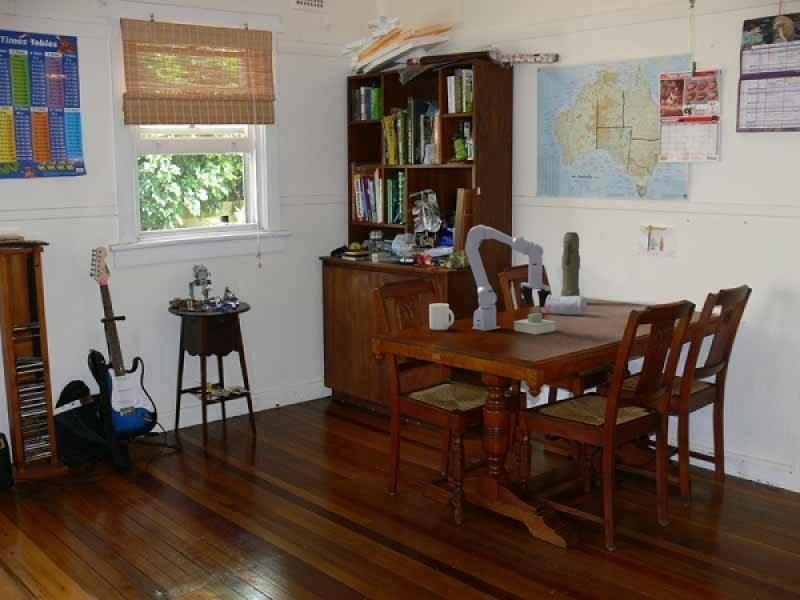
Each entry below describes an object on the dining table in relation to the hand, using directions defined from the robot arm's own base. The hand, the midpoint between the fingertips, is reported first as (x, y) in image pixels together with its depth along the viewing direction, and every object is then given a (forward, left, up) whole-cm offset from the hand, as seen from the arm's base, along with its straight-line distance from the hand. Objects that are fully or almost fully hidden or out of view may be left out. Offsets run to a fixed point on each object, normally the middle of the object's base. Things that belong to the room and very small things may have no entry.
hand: (535, 306), depth 390 cm
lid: (0, 0, -7) cm, 7 cm away
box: (0, 0, -10) cm, 10 cm away
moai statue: (+65, +36, -11) cm, 75 cm away
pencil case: (+39, +18, -11) cm, 44 cm away
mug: (-26, +29, -11) cm, 40 cm away
